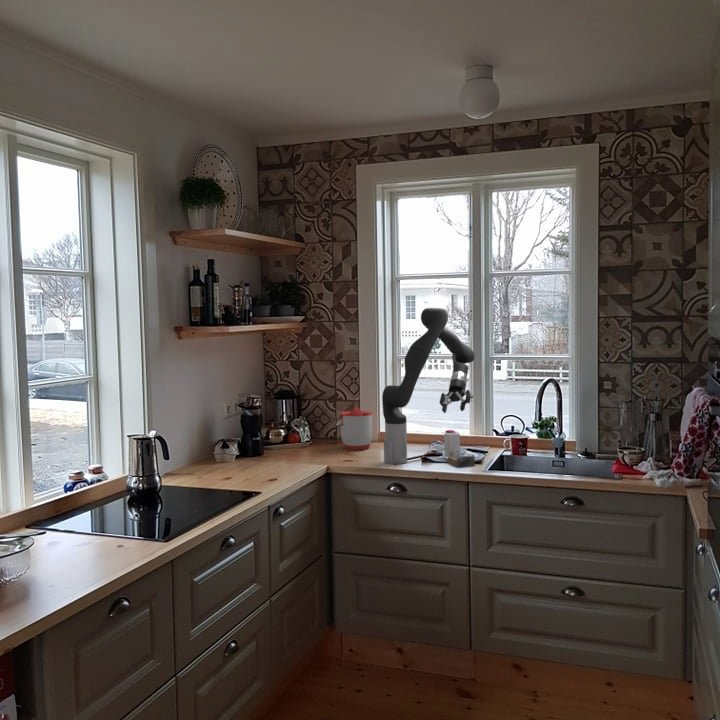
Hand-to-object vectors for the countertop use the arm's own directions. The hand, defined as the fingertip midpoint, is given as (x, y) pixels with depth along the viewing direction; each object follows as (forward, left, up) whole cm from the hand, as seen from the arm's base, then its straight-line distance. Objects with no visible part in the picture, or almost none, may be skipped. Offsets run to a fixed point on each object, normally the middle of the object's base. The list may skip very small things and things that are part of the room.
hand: (452, 411), depth 325 cm
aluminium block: (-6, -9, -19) cm, 22 cm away
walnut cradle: (-8, -21, -19) cm, 30 cm away
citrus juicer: (-37, +31, -20) cm, 52 cm away
